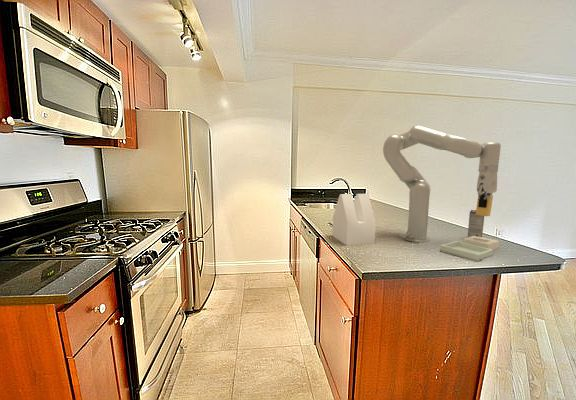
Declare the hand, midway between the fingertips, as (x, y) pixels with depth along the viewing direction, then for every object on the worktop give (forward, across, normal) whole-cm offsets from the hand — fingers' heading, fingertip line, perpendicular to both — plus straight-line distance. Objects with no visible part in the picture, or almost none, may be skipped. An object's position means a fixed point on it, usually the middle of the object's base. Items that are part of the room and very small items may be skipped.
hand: (484, 206), depth 132 cm
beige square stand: (+21, 0, 0) cm, 21 cm away
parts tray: (+21, -16, -1) cm, 26 cm away
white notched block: (+21, -44, +43) cm, 65 cm away
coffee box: (+21, +12, +7) cm, 25 cm away
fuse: (+4, 0, 0) cm, 4 cm away
